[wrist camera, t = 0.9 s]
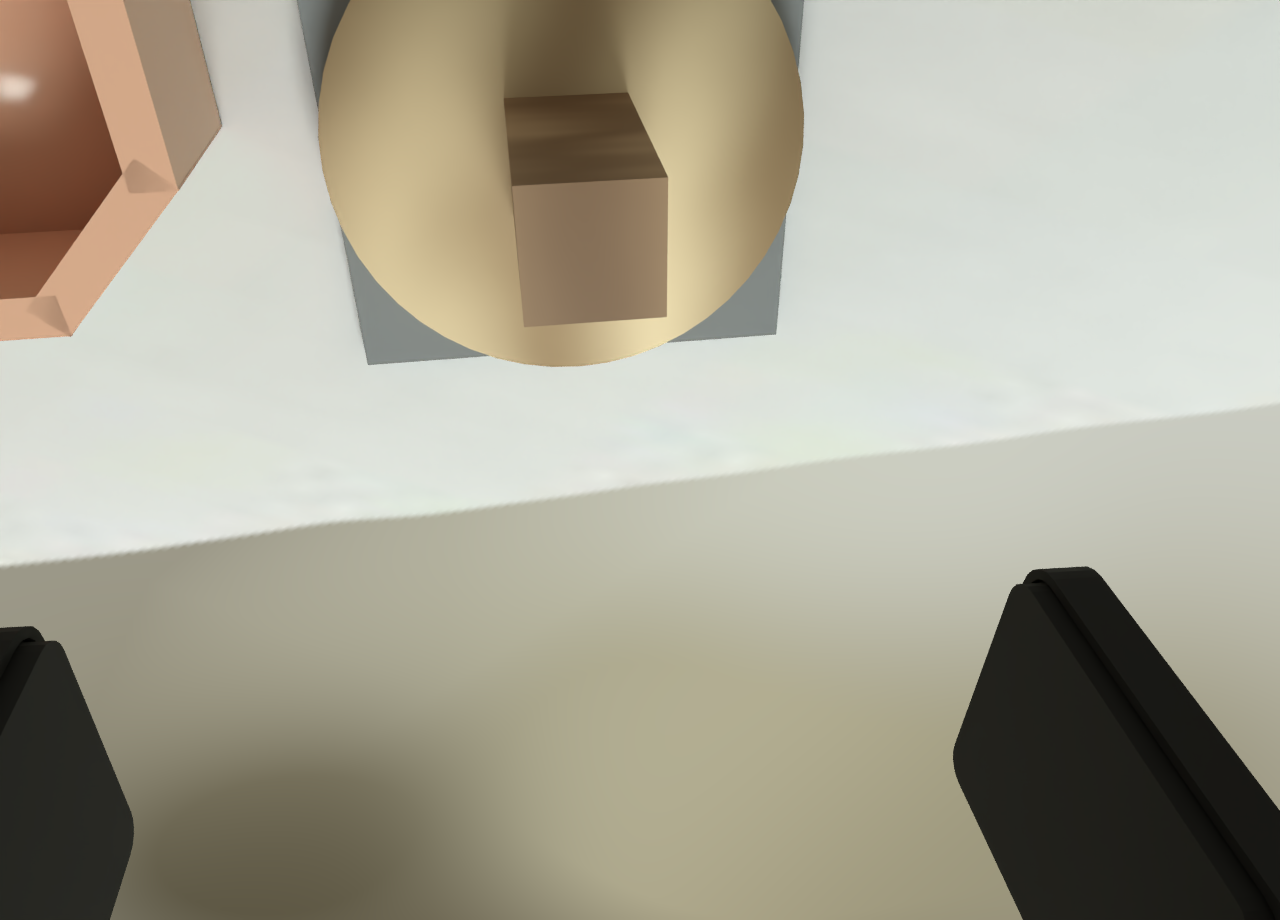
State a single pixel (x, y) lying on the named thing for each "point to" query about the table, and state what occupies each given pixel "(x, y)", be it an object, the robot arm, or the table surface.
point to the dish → (90, 146)
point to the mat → (410, 340)
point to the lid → (561, 164)
